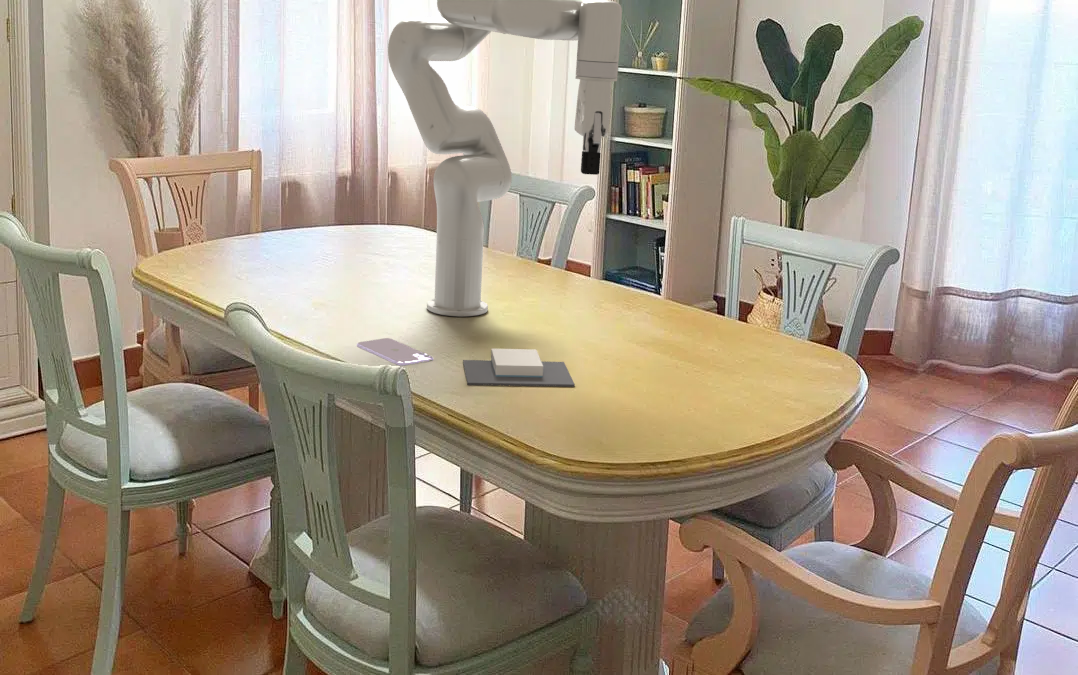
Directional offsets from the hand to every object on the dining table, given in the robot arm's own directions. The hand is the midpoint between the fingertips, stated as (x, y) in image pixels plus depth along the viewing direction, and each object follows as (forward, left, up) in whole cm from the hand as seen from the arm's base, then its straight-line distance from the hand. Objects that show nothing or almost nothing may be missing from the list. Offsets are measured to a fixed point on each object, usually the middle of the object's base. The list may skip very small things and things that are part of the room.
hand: (589, 173), depth 216 cm
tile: (+14, -14, -31) cm, 37 cm away
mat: (+21, -14, -32) cm, 41 cm away
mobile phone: (+10, -35, -33) cm, 49 cm away
